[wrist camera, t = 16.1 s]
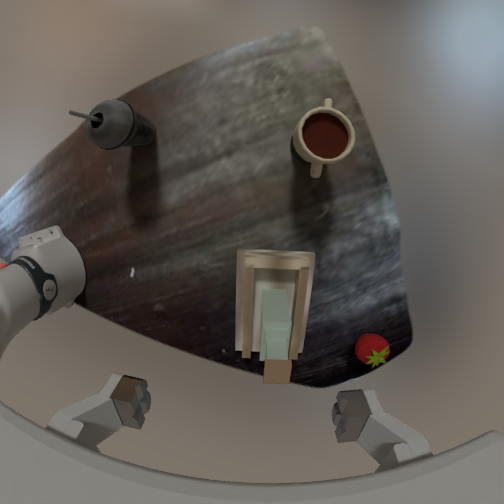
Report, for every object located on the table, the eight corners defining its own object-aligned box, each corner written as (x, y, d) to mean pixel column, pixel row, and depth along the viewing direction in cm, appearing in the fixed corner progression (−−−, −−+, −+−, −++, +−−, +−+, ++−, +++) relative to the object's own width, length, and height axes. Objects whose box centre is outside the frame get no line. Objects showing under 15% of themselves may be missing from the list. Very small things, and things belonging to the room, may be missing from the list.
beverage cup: (150, 160, 43) (82, 157, 24) (119, 143, 42) (46, 134, 23) (171, 123, 41) (112, 96, 22) (139, 107, 40) (73, 78, 21)
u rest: (236, 345, 52) (233, 361, 48) (237, 248, 47) (235, 257, 42) (301, 348, 52) (304, 363, 47) (313, 252, 47) (319, 261, 42)
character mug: (324, 181, 43) (348, 184, 31) (282, 172, 43) (290, 172, 31) (334, 119, 40) (360, 101, 28) (292, 109, 40) (304, 86, 28)
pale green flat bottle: (262, 288, 47) (262, 351, 30) (285, 289, 47) (297, 352, 30) (260, 323, 49) (259, 393, 32) (282, 324, 49) (290, 393, 32)
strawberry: (357, 318, 50) (373, 346, 40) (385, 327, 50) (404, 355, 41) (342, 341, 52) (355, 372, 42) (370, 350, 52) (386, 379, 42)
